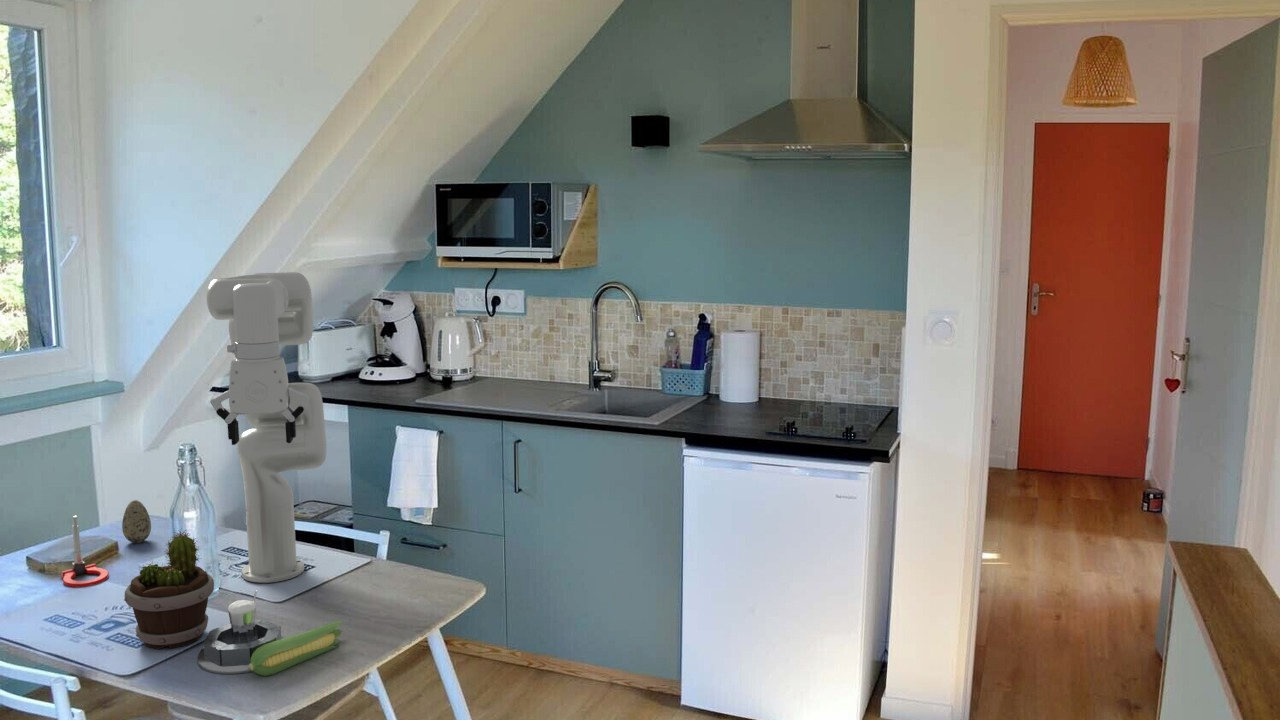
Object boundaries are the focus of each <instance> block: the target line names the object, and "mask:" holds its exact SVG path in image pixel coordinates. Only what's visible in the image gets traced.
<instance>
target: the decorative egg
mask: <svg viewBox="0 0 1280 720" xmlns="http://www.w3.org/2000/svg"><path fill="white" fill-rule="evenodd" d="M121 528H122V533H123V535H124V537H125V539H126V540H127V541H129V542H131V543H133V544H139V543H142V542H145V541H146V539H148V538H149V536H150V533H151V531H152V522H151V518H150V515H149V512H148V510H147V509H146V506H145V505H144V504H143V503H142V502H141V501H139V500H138V499H137V500H136V499H135V500H131V501H130V502H129V503H128V504H127V506H126V508H125V510H124V513H123V518H122V523H121Z"/></svg>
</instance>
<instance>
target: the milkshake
mask: <svg viewBox="0 0 1280 720" xmlns="http://www.w3.org/2000/svg"><path fill="white" fill-rule="evenodd" d="M257 594H258V591H257V590H255V591H254V595H253V598H252V600H247V599H238V600H236V601H234V602H232V603H231V604H229V605H228V607H227V610H228V611H227V612H228V616H229V622H230V624H231V631H232V638H233V644H248V643H251V642H253V641H255V620H256V615H257V614H256V613H257V612H256V611H257V604H256V603H255V601H256V596H257Z"/></svg>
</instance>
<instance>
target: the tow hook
mask: <svg viewBox="0 0 1280 720" xmlns="http://www.w3.org/2000/svg"><path fill="white" fill-rule="evenodd" d="M72 538H73V554H72V555H73V562H71V569H67V570H63V571H60V576H61V578H62V583H63V585H65V586H67V587H71V588H72V587H73V588H81V587H82V588H83V587H91V586H94V585H98V584H100V583H103V582H105V581H107V579H108V578H109V576H110V574H109V571H108V570H107V569H105V568H101V567H97V565H96V563H92V564H88V565H86V562H85V561H84V560H83V551H82V550H81V538H80V525H78V517H77V515H74V516H72ZM83 574H94V575H99V576H97V577H95V578H92V579H88V580H75V578H76V576H79V575H83Z"/></svg>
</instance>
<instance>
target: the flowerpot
mask: <svg viewBox="0 0 1280 720" xmlns="http://www.w3.org/2000/svg"><path fill="white" fill-rule="evenodd" d="M182 530H183V528H182V527H181V528H180V529H178V531H177V532H175V531H173V532H172V533H173V535H172V536H170V539H168V541H167V543H166V545H164V547H165V546H166V547H167V549H166V552H165V557H167V558H168V559H166V563H162V565H161V566H160V565H158V563H159V562H157V563H154V562H153V559H152V558H151V560H150V561H151V563H145V564H142V568H140V567H141V566H140V565H139V567H138V569H139V575H137V576H135V577H134V578H132V579H131V581H130V584H129V585H128V586H127V587H126V589H125V590H124V599H123V601H124V602H125V603H126V604H127V606H129V607H130V608H132V611H133V615H134V619H135V621H136V623H137V625H136V626H135V632H136V634H135V637H136V638H138V639H139V641H141V642H143V644H144V646H146V647H147V648H153V649H156V650H159V649H160V650H161V649H164V648H165V647H169V648H170V649H176V648H179V647H180V646H182V647H184V646H187V645H190V644H192V643H194V642H196V641H199V640H200V639H201V637H202V636H203V633H204V632H206V629H207V627H208V623H209V616H208V614H207V613H206V612H207V608H208V603H209V597H210V596H211V595H212V594H213V593H214V589H215V580H214V578H213V577H212V576H211V575H210V574H208V572H207V571H205V570H204V569H203V568H202V567H201V566H199V564H198V563H199V562H200V560H201V559H202V557H201V558H200V555H199V552H200V547H201V546H199V545H198V546H197V543H198V540H197V539H199V537H195V538H194V535H193V536H192V537H191V533H189V532H187V531H188V529H184V530H183V532H182ZM153 563H154V564H153ZM145 565H147V566H145Z"/></svg>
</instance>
